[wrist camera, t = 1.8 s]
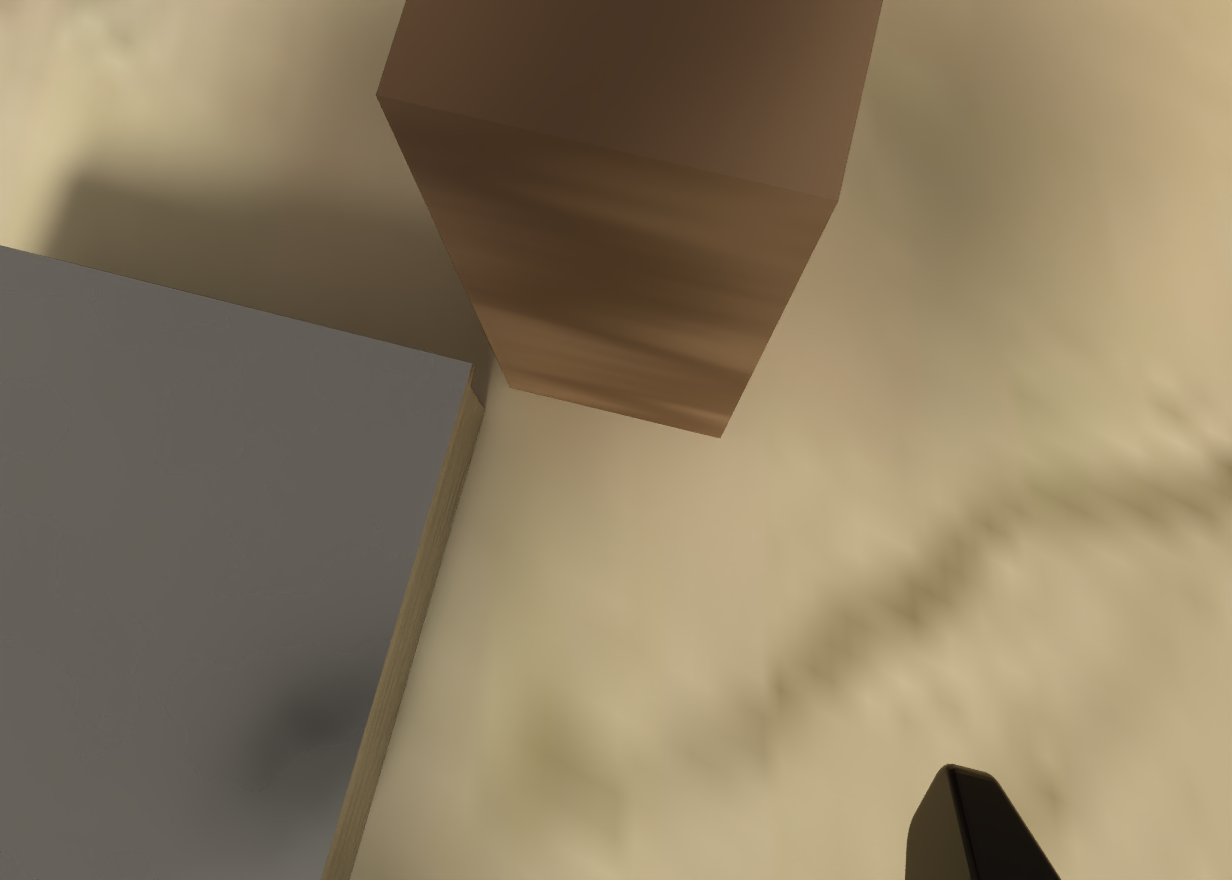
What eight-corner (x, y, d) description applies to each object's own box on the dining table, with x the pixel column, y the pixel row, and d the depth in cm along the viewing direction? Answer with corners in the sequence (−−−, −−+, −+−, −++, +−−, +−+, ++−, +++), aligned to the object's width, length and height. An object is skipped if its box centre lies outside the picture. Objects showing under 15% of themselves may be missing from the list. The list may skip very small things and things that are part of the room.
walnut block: (767, 238, 24) (927, -204, 11) (720, 438, 23) (837, 200, 11) (564, 191, 24) (500, -293, 12) (510, 387, 24) (375, 95, 11)
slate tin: (497, 407, 24) (472, 363, 20) (354, 909, 22) (294, 970, 18) (42, 293, 24) (-69, 228, 21) (-139, 770, 22) (-301, 799, 18)
